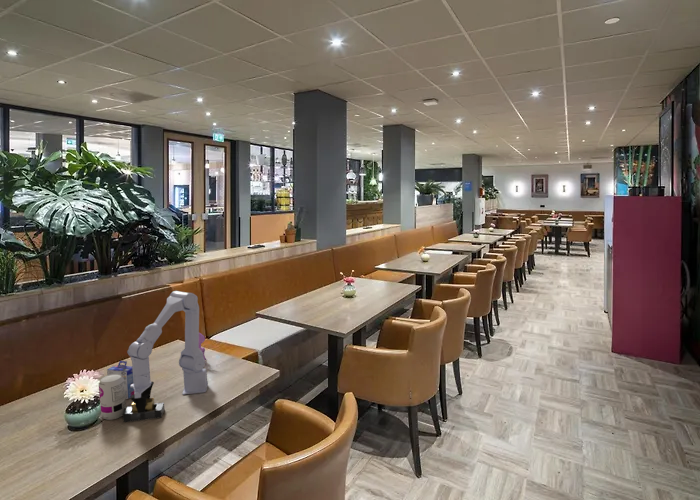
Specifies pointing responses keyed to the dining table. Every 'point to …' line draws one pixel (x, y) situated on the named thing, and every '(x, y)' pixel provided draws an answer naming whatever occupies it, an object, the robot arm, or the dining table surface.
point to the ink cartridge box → (124, 377)
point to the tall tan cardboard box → (148, 406)
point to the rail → (144, 413)
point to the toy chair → (201, 340)
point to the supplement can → (112, 396)
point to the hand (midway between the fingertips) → (143, 406)
